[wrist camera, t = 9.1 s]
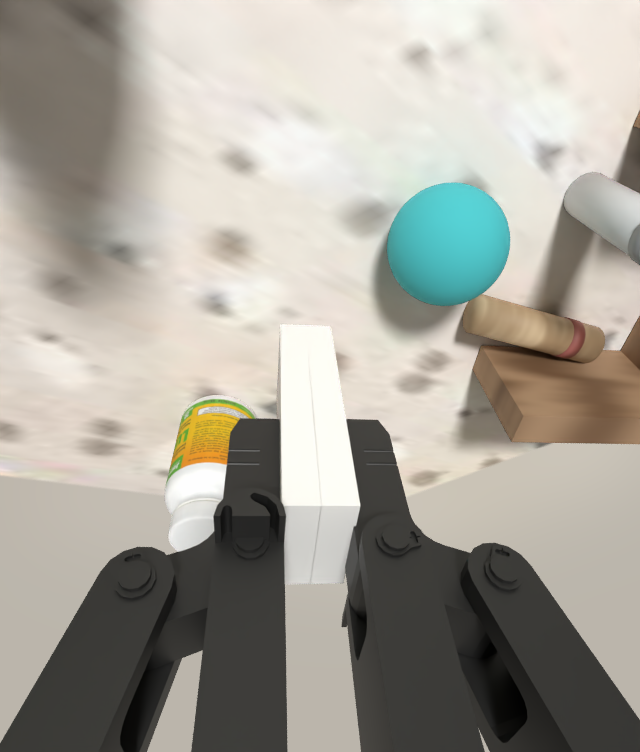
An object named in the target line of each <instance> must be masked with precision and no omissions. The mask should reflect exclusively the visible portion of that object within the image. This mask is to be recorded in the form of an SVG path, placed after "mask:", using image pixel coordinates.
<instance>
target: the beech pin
mask: <svg viewBox="0 0 640 752" xmlns="http://www.w3.org/2000/svg"><path fill="white" fill-rule="evenodd" d="M463 328H464V330H465V331H466V332H467V333H471V334H475V335H479V336H482V337H486V338H490V339H494V340H498V341H502V342H506V343H509V344H513V345H517V346H521V347H525V348H529V349H532V350H536V351H540V352H544V353H548V354H551V355H552V356H556V357H560V358H564V359H571V360H575V361H578V362H582V363H590V362H592V361H594V360H595V359H596V358H597V357H598V356H599V355H600V354H601V352H602V350H603V348H604V344H605V336H604V333H603V331H602V330H601V329H600V328H598V327H595V326H592V325H588V324H585V323H581V322H580V321H577V320H573V319H570V318H566V317H564V318H563V317H560V316H556V315H553V314H549V313H546V312H542V311H539V310H535V309H532V308H528V307H525V306H521V305H518V304H514V303H510V302H507V301H503V300H500V299H496V298H493V297H489V296H486V295H482V294H481V295H479V296H478V297H476V298H474V299H472V300H470V301H469V302H468V304H467V306H466V308H465V311H464V315H463Z"/></svg>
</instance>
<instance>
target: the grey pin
mask: <svg viewBox="0 0 640 752" xmlns="http://www.w3.org/2000/svg"><path fill="white" fill-rule="evenodd" d="M564 207H565V210H566V211H567V212H568V213H569V214H570V215H571V216H573V217H574V218H576V219H577V220H578V221H580V222H581V223H583V224H584V225H586V226H587V227H588V228H590V229H591V230H593V231H594V232H596V233H597V234H598V235H600V236H601V237H603V238H604V239H605V240H607V241H608V242H610V243H611V244H613V245H614V246H615V247H617V248H618V249H620V250H621V251H623V252H624V253H625V254H627V255H628V256H630V258H631V259H632V260H633V261H635V262H636V263H638V264H639V265H640V193H638V192H636V191H634V190H632V189H630V188H628V187H626V186H624V185H622V184H620V183H618V182H616V181H614V180H612V179H610V178H608V177H606V176H605V175H603V174H601V173H597V172H590V173H586V174H584V175H582V176H580V177H578V178H577V179H576V180H575V181H574V182H573V183H572V184H571V185H570V186H569V188H568V190H567V191H566V194H565V197H564Z"/></svg>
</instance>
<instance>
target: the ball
mask: <svg viewBox="0 0 640 752" xmlns="http://www.w3.org/2000/svg"><path fill="white" fill-rule="evenodd" d="M509 250H510V232H509V227H508V222H507V220H506V217H505V215H504V213H503V211H502V209H501V208H500V206H499V205H498V204H497V203H496V201H495V200H494V199H493V198H492V197H490V196H489V195H488V194H487V193H485V192H484V191H482V190H480V189H478V188H476V187H474V186H471V185H467V184H463V183H443V184H438V185H434V186H431V187H429V188H426V189H424V190H422V191H420V192H419V193H417V194H416V195H415V196H413V197H412V198H411V199H410V200H409V201H407V202H406V203H405V204H404V206H403V207H402V208H401V209H400V211H399V212H398V214H397V215H396V217H395V219H394V221H393V223H392V226H391V228H390V231H389V235H388V243H387V254H388V261H389V265H390V268H391V270H392V273H393V275H394V277H395V278H396V280H397V281H398V283H399V284H400V286H401V287H402V288H403V289H404V290H405V291H406V292H407V293H409V294H410V295H411V296H413V297H414V298H416V299H418V300H420V301H422V302H425V303H428V304H432V305H439V306H451V305H458V304H462V303H465V302H467V301H470V300H472V299H474V298H476V297H478V296H479V295H481V294H482V293H484V292H485V291H486V290H487V289H488V288H490V286H491V285H492V284H493V283H494V282H495V281H496V280H497V278H498V277H499V275H500V274H501V272H502V270H503V269H504V266H505V264H506V261H507V258H508V254H509Z"/></svg>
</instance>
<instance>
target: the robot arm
mask: <svg viewBox="0 0 640 752" xmlns="http://www.w3.org/2000/svg"><path fill="white" fill-rule="evenodd" d="M213 519H214V532H213V533H212V534H211V535H210V536H209V537H208V538H207V539H206V540H204V541H203V542H201V543H200V544H198V545H196V546H194V547H191V548H189V549H186V550H183V551H179V552H176V553H173V554H170V555H166V554H165V553H164V552H162V551H160V550H157V549H155V548H152V547H136V548H133V549H130V550H126V551H123V552H122V553H120V554H119V555H117V556H116V557H114V558H113V559H111V560H110V561H109V562H108V563H107V565H106V566H105V567H104V568H103V569H102V571H101V572H100V574H99V575H98V577H97V579H96V580H95V582H94V584H93V586H92V587H91V589H90V591H89V592H88V594H87V596H86V597H85V599H84V601H83V603H82V604H81V606H80V608H79V610H78V611H77V613H76V615H75V616H74V618H73V620H72V621H71V623H70V625H69V627H68V628H67V630H66V632H65V633H64V635H63V637H62V639H61V640H60V642H59V644H58V645H57V647H56V649H55V651H54V653H53V654H52V656H51V657H50V660H49V661H48V663H47V664H46V666H45V668H44V669H43V671H42V673H41V675H40V676H39V678H38V680H37V681H36V683H35V685H34V687H33V688H32V690H31V692H30V693H29V695H28V697H27V699H26V700H25V702H24V704H23V705H22V707H21V709H20V711H19V712H18V714H17V716H16V718H15V719H14V721H13V723H12V724H11V726H10V728H9V729H8V731H7V733H6V734H5V736H4V738H3V740H2V741H1V743H0V752H147V750H148V747H149V744H150V742H151V739H152V736H153V734H154V731H155V728H156V726H157V723H158V720H159V718H160V715H161V712H162V710H163V707H164V705H165V702H166V699H167V697H168V694H169V691H170V689H171V686H172V683H173V681H174V678H175V675H176V673H177V670H178V667H179V665H180V662H181V659H182V658H183V657H186V656H188V655H191V654H194V653H196V652H199V651H201V650H203V654H202V663H201V672H200V681H199V689H198V698H197V707H196V716H195V725H194V733H193V742H192V751H191V752H287V703H286V702H287V699H286V633H285V584H329V583H344V578H345V574H346V578H347V585H348V595H347V600H346V604H345V608H344V612H343V617H342V627H347V626H348V635H349V644H350V653H351V662H352V671H353V681H354V690H355V699H356V708H357V716H358V726H359V735H360V743H361V744H360V745H361V752H485V751H484V748H483V745H482V741H481V737H480V733H479V730H480V732H481V734H482V736H483V738H484V740H485V743H486V745H487V746H488V749H489V751H490V752H640V720H639V718H638V717H637V716H636V714H635V713H634V711H633V710H632V708H631V707H630V706H629V704H628V703H627V701H626V700H625V698H624V697H623V696H622V694H621V693H620V691H619V690H618V688H617V687H616V686H615V684H614V683H613V681H612V680H611V679H610V677H609V676H608V674H607V673H606V672H605V670H604V669H603V667H602V666H601V664H600V663H599V662H598V660H597V659H596V657H595V656H594V654H593V653H592V652H591V650H590V649H589V647H588V646H587V645H586V643H585V642H584V640H583V639H582V638H581V636H580V635H579V633H578V632H577V630H576V629H575V628H574V626H573V625H572V623H571V622H570V620H569V619H568V618H567V616H566V615H565V613H564V612H563V610H562V609H561V608H560V606H559V605H558V603H557V602H556V601H555V599H554V598H553V596H552V595H551V593H550V592H549V591H548V589H547V588H546V586H545V585H544V584H543V582H542V581H541V580H540V578H539V576H538V575H537V574H536V572H535V571H534V569H533V568H532V566H531V565H530V564H529V563H528V562H527V561H526V560H525V559H524V558H523V557H522V556H521V555H520V554H519V553H517V552H516V551H514V550H513V549H511V548H509V547H507V546H504V545H500V544H497V543H485V544H481V545H480V546H477V547H475V548H474V549H473V551H472V552H471V553H468V552H465V551H462V550H458V549H455V548H451V547H448V546H445V545H442V544H440V543H437V542H435V541H433V540H432V539H430V538H428V537H427V536H425V535H424V534H423V533H422V531H421V530H420V529H419V528H418V527H417V526H416V525H415V523H414V522H413V520H412V518H411V515H410V512H409V508H408V505H407V501H406V497H405V493H404V489H403V485H402V481H401V478H400V474H399V470H398V466H397V462H396V458H395V455H394V453H393V447H392V443H391V439H390V435H389V433H388V432H387V431H386V430H385V428H384V427H383V426H382V425H381V423H380V422H379V421H378V420H357V419H346V416H345V410H344V404H343V398H342V392H341V385H340V379H339V373H338V367H337V361H336V355H335V349H334V343H333V337H332V331H331V326H315V325H291V324H280V341H279V362H278V383H277V419H251V418H240V419H239V421H238V422H237V424H236V425H235V426H234V428H233V429H232V431H231V432H230V440H229V449H228V458H227V467H226V476H225V485H224V494H223V499H222V500H221V502H220V503H219V504H218V505H217V507H216V510H215V513H214V516H213ZM478 728H479V729H478Z"/></svg>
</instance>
